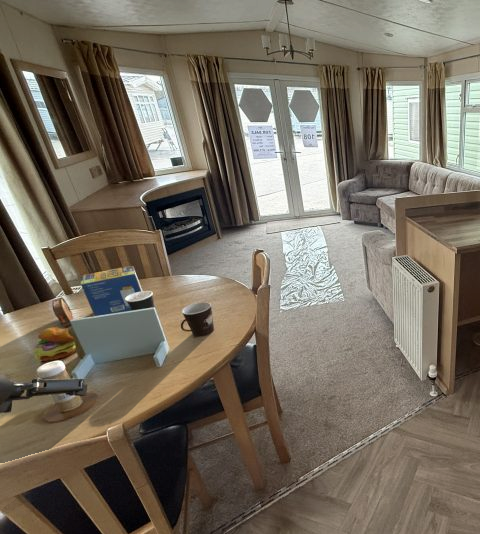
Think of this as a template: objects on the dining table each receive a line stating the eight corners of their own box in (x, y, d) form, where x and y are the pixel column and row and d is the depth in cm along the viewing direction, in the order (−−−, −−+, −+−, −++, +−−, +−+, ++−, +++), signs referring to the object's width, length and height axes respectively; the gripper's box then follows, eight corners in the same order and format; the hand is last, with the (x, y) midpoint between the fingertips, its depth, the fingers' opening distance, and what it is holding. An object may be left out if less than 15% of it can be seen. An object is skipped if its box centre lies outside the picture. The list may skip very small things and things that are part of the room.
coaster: (37, 413, 88) (36, 412, 87) (87, 388, 96) (86, 387, 96) (54, 428, 84) (53, 427, 83) (105, 401, 92) (104, 400, 92)
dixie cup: (149, 314, 132) (140, 289, 128) (166, 317, 131) (158, 292, 127) (129, 325, 125) (118, 299, 121) (146, 328, 124) (136, 302, 119)
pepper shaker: (73, 360, 107) (58, 331, 102) (88, 348, 112) (74, 320, 108) (94, 358, 108) (81, 329, 103) (108, 347, 113) (96, 319, 109)
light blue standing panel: (76, 384, 97) (52, 338, 91) (92, 363, 106) (71, 319, 99) (161, 366, 105) (144, 323, 99) (169, 348, 113) (154, 307, 107)
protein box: (96, 310, 134) (80, 275, 128) (145, 298, 144) (133, 265, 138) (95, 321, 127) (79, 284, 121) (147, 307, 137) (135, 273, 131)
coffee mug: (209, 322, 128) (202, 299, 124) (222, 329, 124) (216, 306, 120) (175, 338, 119) (166, 313, 115) (188, 345, 115) (180, 320, 111)
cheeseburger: (28, 358, 107) (25, 328, 105) (74, 347, 117) (72, 319, 115) (42, 367, 103) (39, 336, 101) (89, 355, 113) (87, 326, 111)
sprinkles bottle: (85, 397, 92) (65, 357, 87) (80, 408, 89) (59, 367, 83) (62, 404, 90) (39, 363, 85) (56, 415, 87) (32, 374, 81)
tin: (74, 327, 123) (64, 307, 120) (61, 330, 121) (51, 310, 118) (72, 312, 133) (63, 293, 129) (60, 315, 130) (51, 296, 127)
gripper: (-139, 435, 58) (-28, 431, 76) (56, 393, 67) (113, 399, 86) (-128, 390, 60) (-23, 397, 79) (59, 356, 70) (114, 369, 88)
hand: (48, 398), depth 82 cm, fingers open, 13 cm apart
